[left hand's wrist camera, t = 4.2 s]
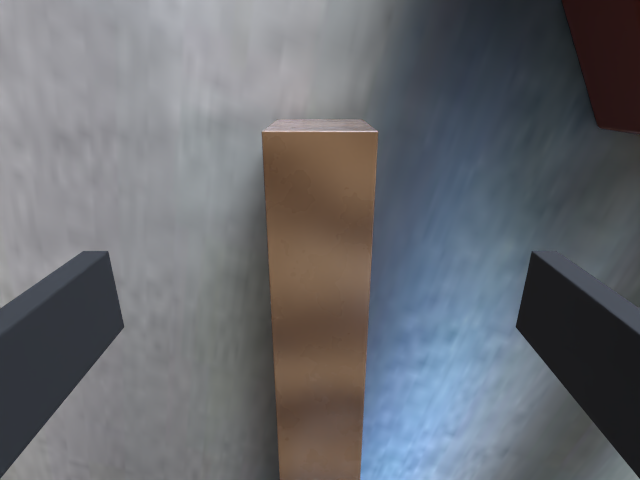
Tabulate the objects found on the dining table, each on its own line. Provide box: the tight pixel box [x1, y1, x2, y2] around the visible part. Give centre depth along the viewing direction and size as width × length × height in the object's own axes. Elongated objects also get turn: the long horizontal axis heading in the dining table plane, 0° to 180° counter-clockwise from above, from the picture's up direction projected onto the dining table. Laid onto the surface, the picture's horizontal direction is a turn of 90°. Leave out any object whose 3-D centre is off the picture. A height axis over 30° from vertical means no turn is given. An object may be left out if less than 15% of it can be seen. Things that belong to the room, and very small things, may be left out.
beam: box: [262, 119, 378, 480], centre depth 31 cm, size 50×6×7 cm, turn 0°
